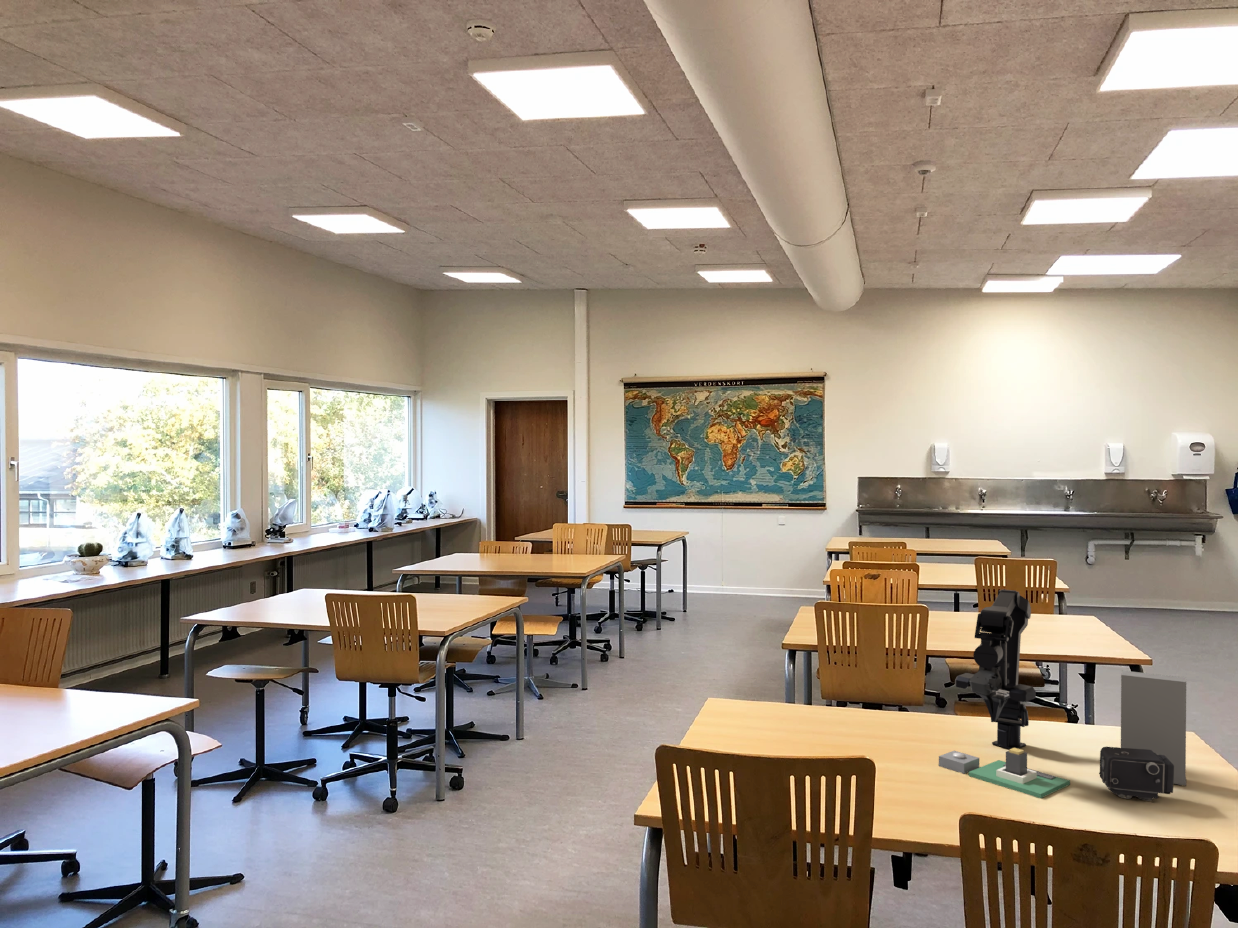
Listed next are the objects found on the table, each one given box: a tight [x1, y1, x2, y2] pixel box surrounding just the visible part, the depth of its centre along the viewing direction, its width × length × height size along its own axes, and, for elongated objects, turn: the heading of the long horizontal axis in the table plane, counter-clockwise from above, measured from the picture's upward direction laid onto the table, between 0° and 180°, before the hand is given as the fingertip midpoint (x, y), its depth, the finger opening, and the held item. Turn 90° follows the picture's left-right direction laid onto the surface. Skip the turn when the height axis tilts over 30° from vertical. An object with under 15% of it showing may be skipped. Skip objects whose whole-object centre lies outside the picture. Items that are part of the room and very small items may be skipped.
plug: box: [1005, 748, 1028, 776], centre depth 216 cm, size 4×4×7 cm
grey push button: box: [938, 750, 980, 775], centre depth 225 cm, size 7×7×3 cm
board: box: [968, 759, 1071, 799], centre depth 216 cm, size 14×18×2 cm
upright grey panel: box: [1120, 670, 1187, 786], centre depth 218 cm, size 14×6×25 cm, turn 59°
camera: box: [1098, 746, 1174, 802], centre depth 205 cm, size 10×11×14 cm
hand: (994, 720), depth 226 cm, fingers closed
